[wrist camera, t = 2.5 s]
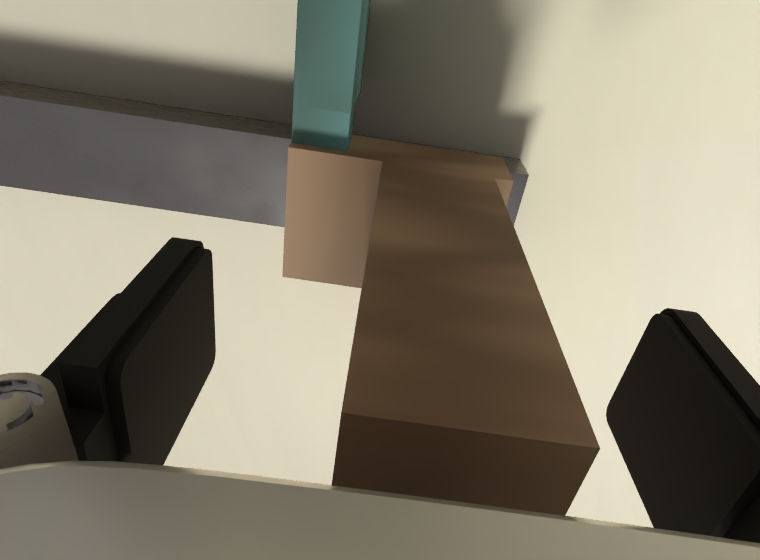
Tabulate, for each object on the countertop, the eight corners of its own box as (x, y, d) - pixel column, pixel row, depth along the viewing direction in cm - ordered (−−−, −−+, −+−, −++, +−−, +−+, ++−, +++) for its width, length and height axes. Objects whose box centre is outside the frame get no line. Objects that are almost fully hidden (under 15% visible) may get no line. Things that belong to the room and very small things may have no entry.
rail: (520, 159, 17) (528, 175, 16) (497, 239, 19) (503, 259, 17) (-164, 56, 17) (-212, 63, 15) (-129, 147, 18) (-170, 160, 17)
